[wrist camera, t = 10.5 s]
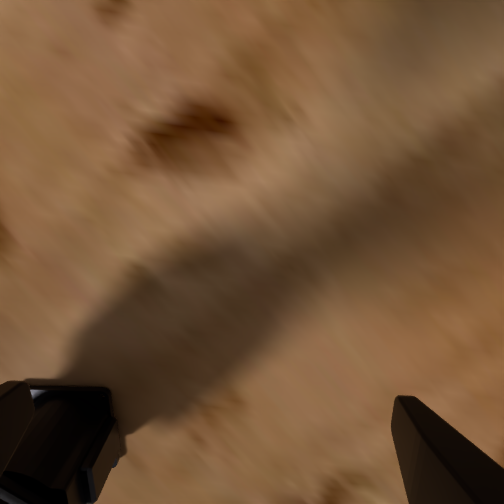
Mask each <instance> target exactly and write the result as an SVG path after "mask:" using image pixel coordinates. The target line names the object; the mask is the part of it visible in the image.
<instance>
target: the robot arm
mask: <svg viewBox="0 0 504 504" xmlns="http://www.w3.org/2000/svg"><path fill="white" fill-rule="evenodd" d="M100 394H102V395H104V396H105V397H103V396H101V395H100ZM391 431H392V436H393V441H394V445H395V449H396V453H397V457H398V461H399V466H400V470H401V474H402V478H403V482H404V486H405V490H406V494H407V498H408V502H409V504H504V468H502V467H501V466H500V465H499V464H498V463H496V462H495V461H494V460H493V459H491V458H490V457H489V456H488V455H487V454H485V453H484V452H483V451H482V450H480V449H479V448H478V447H477V446H475V445H474V444H473V443H472V442H471V441H469V440H468V439H467V438H466V437H464V436H463V435H462V434H461V433H459V432H458V431H457V430H456V429H455V428H453V427H452V426H451V425H450V424H448V423H447V422H446V421H445V420H443V419H442V418H441V417H440V416H439V415H437V414H436V413H435V412H434V411H432V410H431V409H430V408H429V407H427V406H426V405H425V404H424V403H423V402H421V401H420V400H419V399H418V398H416V397H414V396H405V395H398V396H397V397H396V398H395V400H394V407H393V413H392V420H391ZM119 450H120V439H119V431H118V423H117V419H116V418H115V417H114V413H113V405H112V397H111V392H110V390H109V389H107V388H105V387H68V386H29V384H28V383H27V382H25V381H7V382H5V383H3V384H1V385H0V504H94V503H95V502H96V501H97V500H98V498H99V495H100V493H101V491H102V489H103V486H104V484H105V482H106V480H107V477H108V475H109V473H110V471H111V468H114V467H116V465H117V463H118V461H119Z"/></svg>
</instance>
